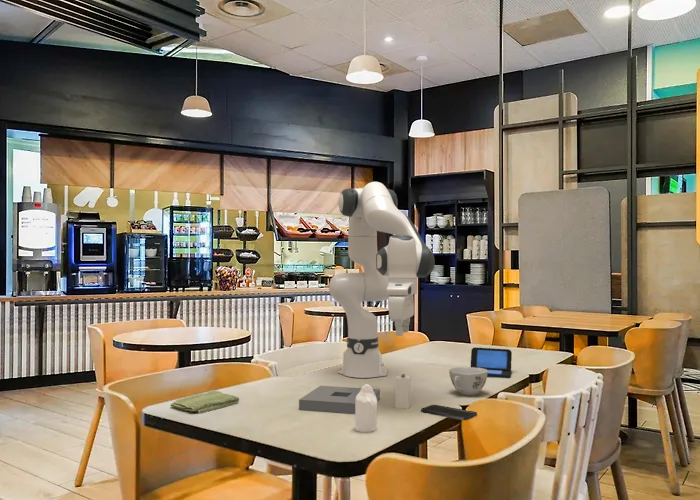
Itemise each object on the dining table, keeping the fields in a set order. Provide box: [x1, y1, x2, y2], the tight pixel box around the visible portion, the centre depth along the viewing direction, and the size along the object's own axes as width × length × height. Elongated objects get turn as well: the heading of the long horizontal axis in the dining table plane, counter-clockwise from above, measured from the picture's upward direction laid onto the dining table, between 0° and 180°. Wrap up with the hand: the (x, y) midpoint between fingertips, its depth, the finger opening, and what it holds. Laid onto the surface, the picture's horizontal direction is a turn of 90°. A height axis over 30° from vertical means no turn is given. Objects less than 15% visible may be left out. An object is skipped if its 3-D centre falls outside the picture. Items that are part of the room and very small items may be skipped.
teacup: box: [448, 366, 488, 396], centre depth 199 cm, size 15×12×8 cm
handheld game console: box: [470, 347, 513, 379], centre depth 233 cm, size 16×13×9 cm
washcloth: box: [170, 389, 240, 415], centre depth 183 cm, size 13×18×3 cm
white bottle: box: [354, 383, 378, 433], centre depth 159 cm, size 6×12×6 cm
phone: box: [420, 404, 478, 421], centre depth 175 cm, size 8×1×15 cm
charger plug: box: [394, 373, 412, 410], centre depth 182 cm, size 4×4×10 cm
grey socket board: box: [298, 385, 381, 415], centre depth 185 cm, size 20×20×3 cm
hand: (402, 333), depth 182 cm, fingers open, 8 cm apart
